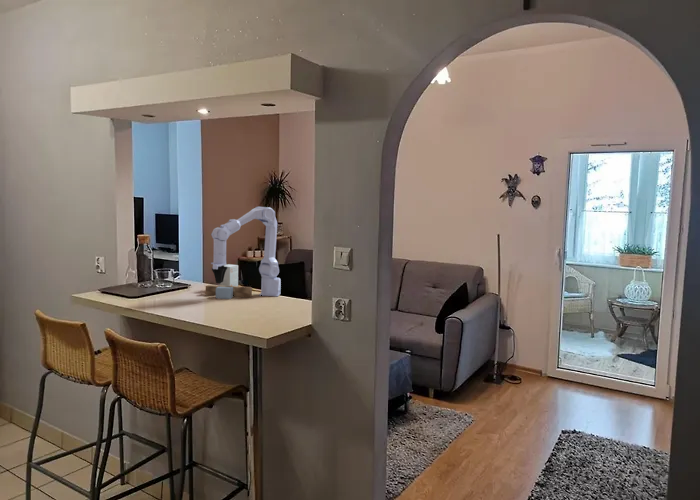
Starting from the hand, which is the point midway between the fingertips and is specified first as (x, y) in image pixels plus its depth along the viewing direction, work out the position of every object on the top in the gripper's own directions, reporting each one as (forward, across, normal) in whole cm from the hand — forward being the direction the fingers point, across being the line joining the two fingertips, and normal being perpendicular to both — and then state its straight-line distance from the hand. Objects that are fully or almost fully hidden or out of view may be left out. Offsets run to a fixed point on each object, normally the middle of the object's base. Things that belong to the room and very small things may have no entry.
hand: (219, 282), depth 250 cm
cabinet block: (+9, -7, 0) cm, 11 cm away
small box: (+9, -26, -3) cm, 27 cm away
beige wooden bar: (+8, -12, +1) cm, 15 cm away
